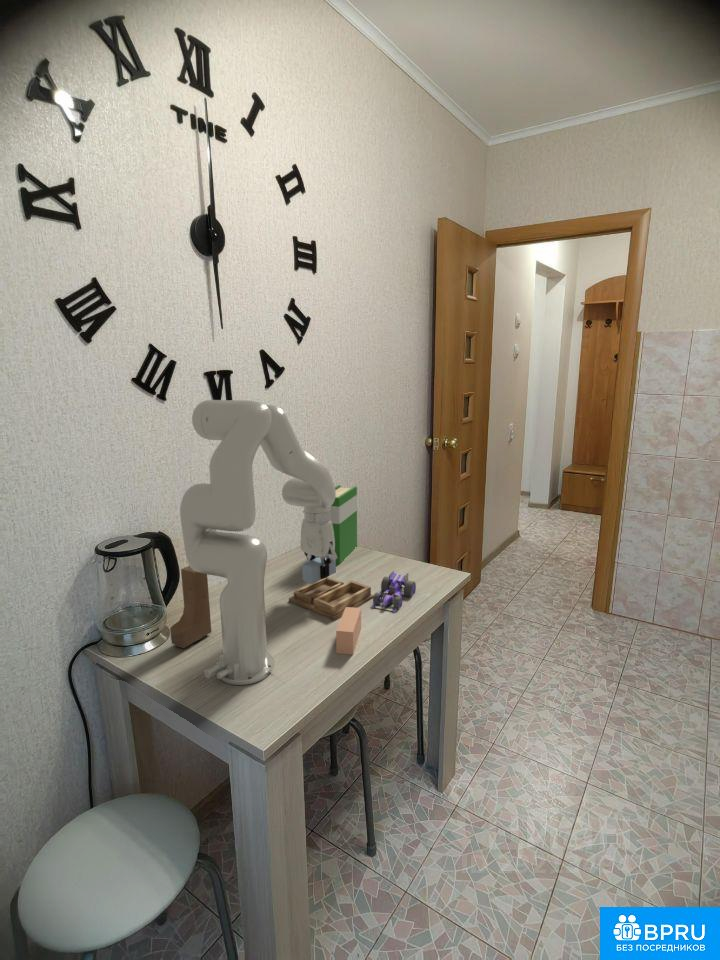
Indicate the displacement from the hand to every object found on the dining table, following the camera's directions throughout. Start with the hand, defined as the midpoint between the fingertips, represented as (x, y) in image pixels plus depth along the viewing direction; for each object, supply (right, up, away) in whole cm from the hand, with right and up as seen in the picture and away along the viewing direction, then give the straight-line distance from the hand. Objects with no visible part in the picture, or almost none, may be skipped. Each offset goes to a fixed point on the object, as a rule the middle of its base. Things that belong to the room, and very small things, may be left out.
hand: (319, 574), depth 145 cm
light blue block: (0, -1, 0) cm, 1 cm away
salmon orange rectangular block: (+9, -12, -24) cm, 28 cm away
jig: (+4, -7, -2) cm, 8 cm away
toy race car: (+21, -8, -2) cm, 23 cm away
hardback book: (+5, 0, +33) cm, 33 cm away
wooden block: (-30, -12, -22) cm, 39 cm away
